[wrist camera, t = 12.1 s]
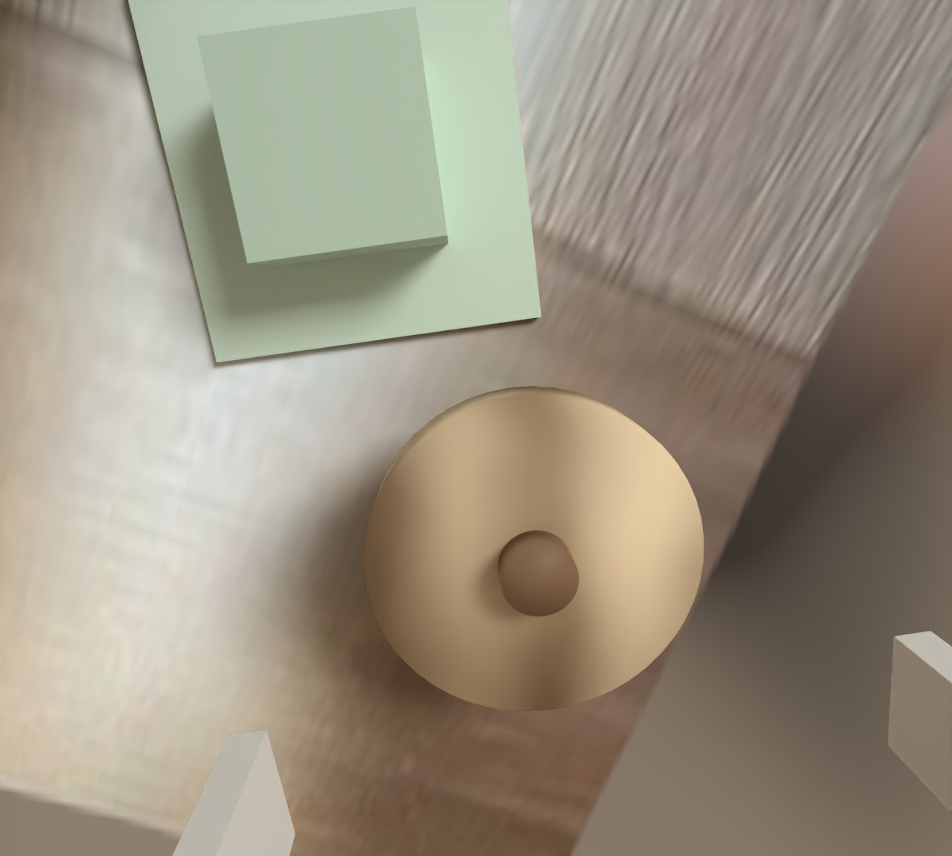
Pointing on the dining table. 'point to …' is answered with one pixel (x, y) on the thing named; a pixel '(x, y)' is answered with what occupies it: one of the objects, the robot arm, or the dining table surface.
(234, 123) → the mat stand
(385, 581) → the lid
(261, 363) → the dining table surface
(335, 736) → the dining table surface
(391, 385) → the dining table surface
